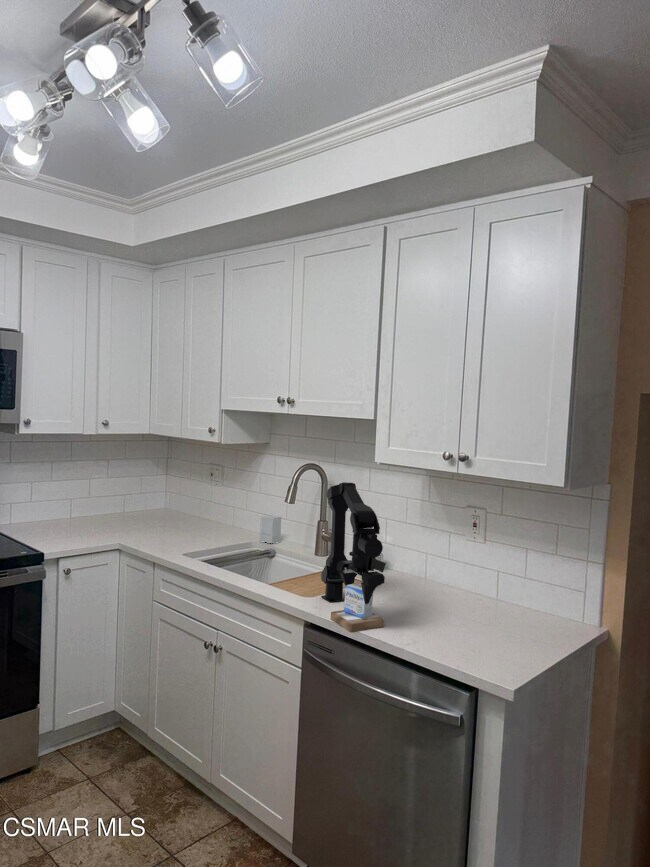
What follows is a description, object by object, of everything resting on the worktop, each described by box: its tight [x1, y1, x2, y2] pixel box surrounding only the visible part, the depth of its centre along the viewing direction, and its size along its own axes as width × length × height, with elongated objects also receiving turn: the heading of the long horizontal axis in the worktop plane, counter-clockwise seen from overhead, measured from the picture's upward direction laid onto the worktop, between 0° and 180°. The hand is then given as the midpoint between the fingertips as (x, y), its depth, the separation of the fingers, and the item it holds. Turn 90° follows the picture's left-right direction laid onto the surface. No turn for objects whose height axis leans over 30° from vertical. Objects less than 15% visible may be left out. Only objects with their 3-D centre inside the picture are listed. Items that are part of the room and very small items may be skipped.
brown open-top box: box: [330, 609, 385, 633], centre depth 197 cm, size 12×12×3 cm
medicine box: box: [343, 583, 374, 619], centre depth 197 cm, size 8×4×9 cm, turn 50°
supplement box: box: [259, 514, 282, 544], centre depth 307 cm, size 7×7×13 cm
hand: (358, 599), depth 197 cm, fingers open, 9 cm apart
